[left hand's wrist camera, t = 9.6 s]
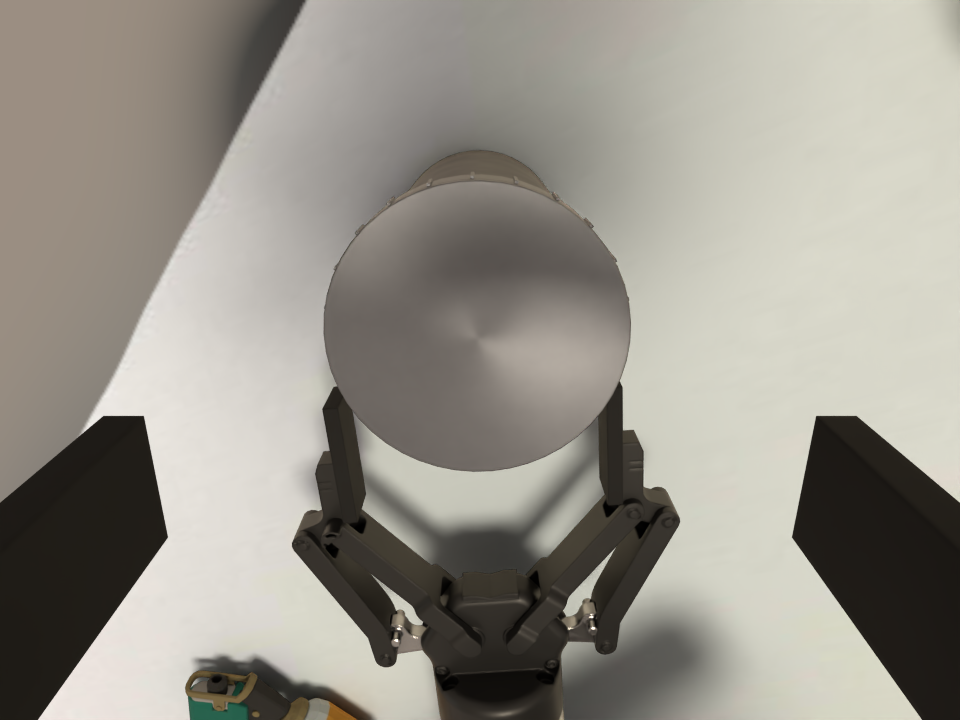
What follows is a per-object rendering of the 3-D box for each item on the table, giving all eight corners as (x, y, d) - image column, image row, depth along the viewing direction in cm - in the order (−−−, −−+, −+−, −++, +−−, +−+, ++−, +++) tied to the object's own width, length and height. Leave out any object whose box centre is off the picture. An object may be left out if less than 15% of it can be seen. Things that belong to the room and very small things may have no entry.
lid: (595, 137, 20) (605, 140, 18) (642, 418, 23) (654, 441, 22) (293, 212, 21) (277, 221, 19) (380, 473, 24) (373, 498, 23)
